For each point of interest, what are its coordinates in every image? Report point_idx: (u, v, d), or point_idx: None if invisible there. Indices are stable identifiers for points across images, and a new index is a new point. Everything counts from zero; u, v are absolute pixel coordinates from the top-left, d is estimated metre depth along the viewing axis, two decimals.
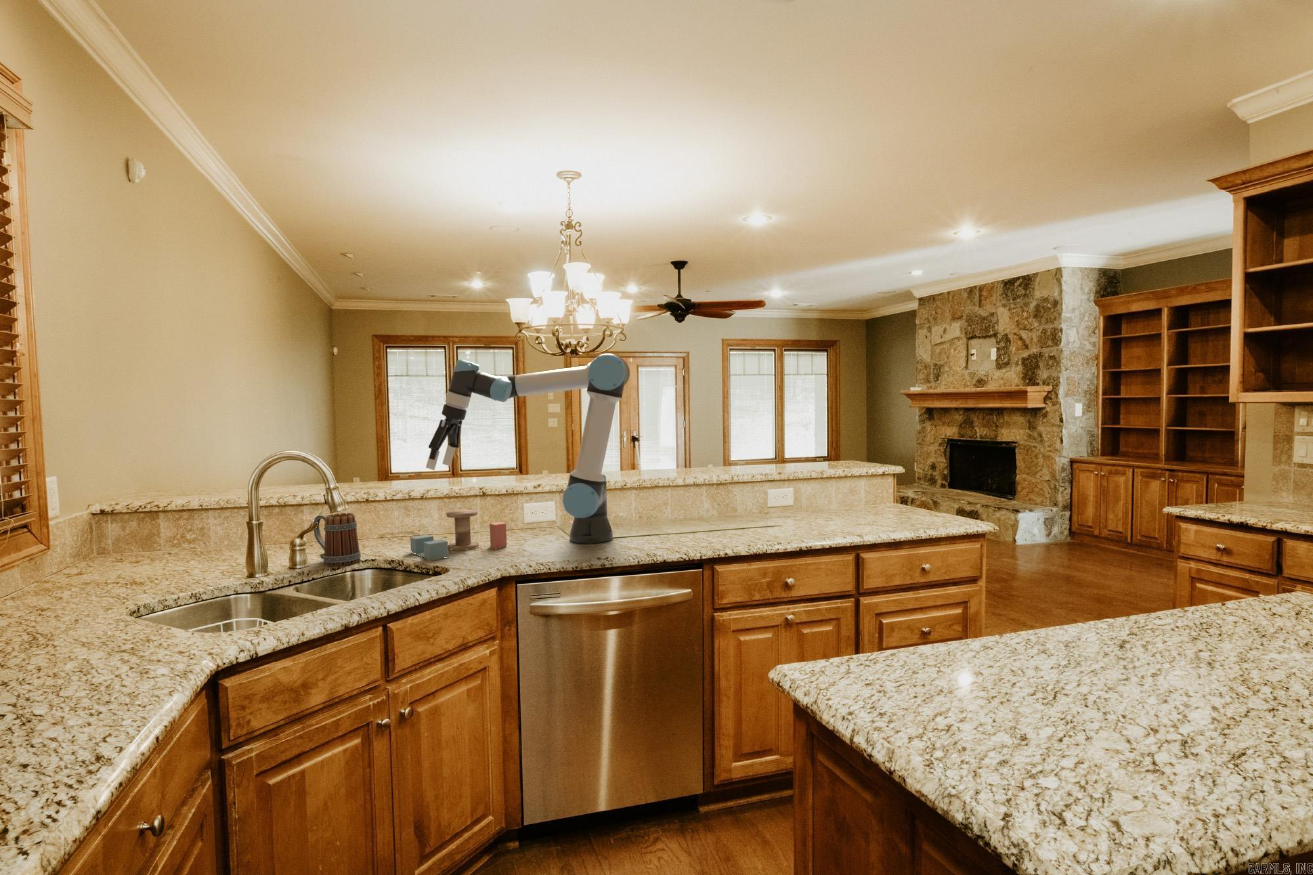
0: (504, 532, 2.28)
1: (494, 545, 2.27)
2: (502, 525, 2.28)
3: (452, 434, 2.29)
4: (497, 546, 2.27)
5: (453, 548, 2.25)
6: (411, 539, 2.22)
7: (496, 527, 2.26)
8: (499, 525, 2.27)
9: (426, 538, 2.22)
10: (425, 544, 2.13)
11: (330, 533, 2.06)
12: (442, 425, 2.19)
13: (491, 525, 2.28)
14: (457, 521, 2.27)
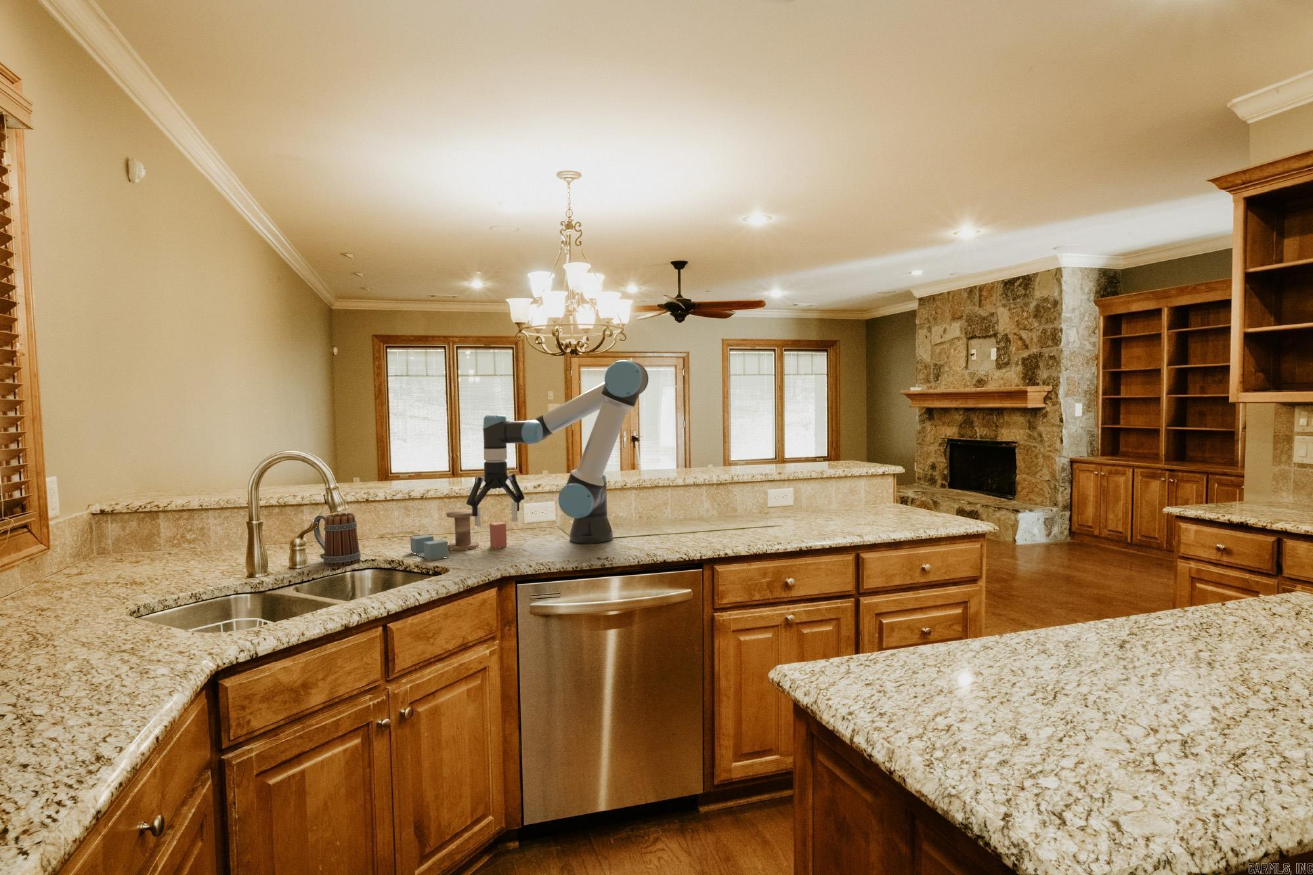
0: (504, 532, 2.28)
1: (494, 545, 2.27)
2: (502, 525, 2.28)
3: (505, 489, 2.30)
4: (497, 546, 2.27)
5: (453, 548, 2.25)
6: (411, 539, 2.22)
7: (496, 527, 2.26)
8: (499, 525, 2.27)
9: (426, 538, 2.22)
10: (425, 544, 2.13)
11: (330, 533, 2.06)
12: (476, 481, 2.24)
13: (491, 525, 2.28)
14: (457, 521, 2.27)
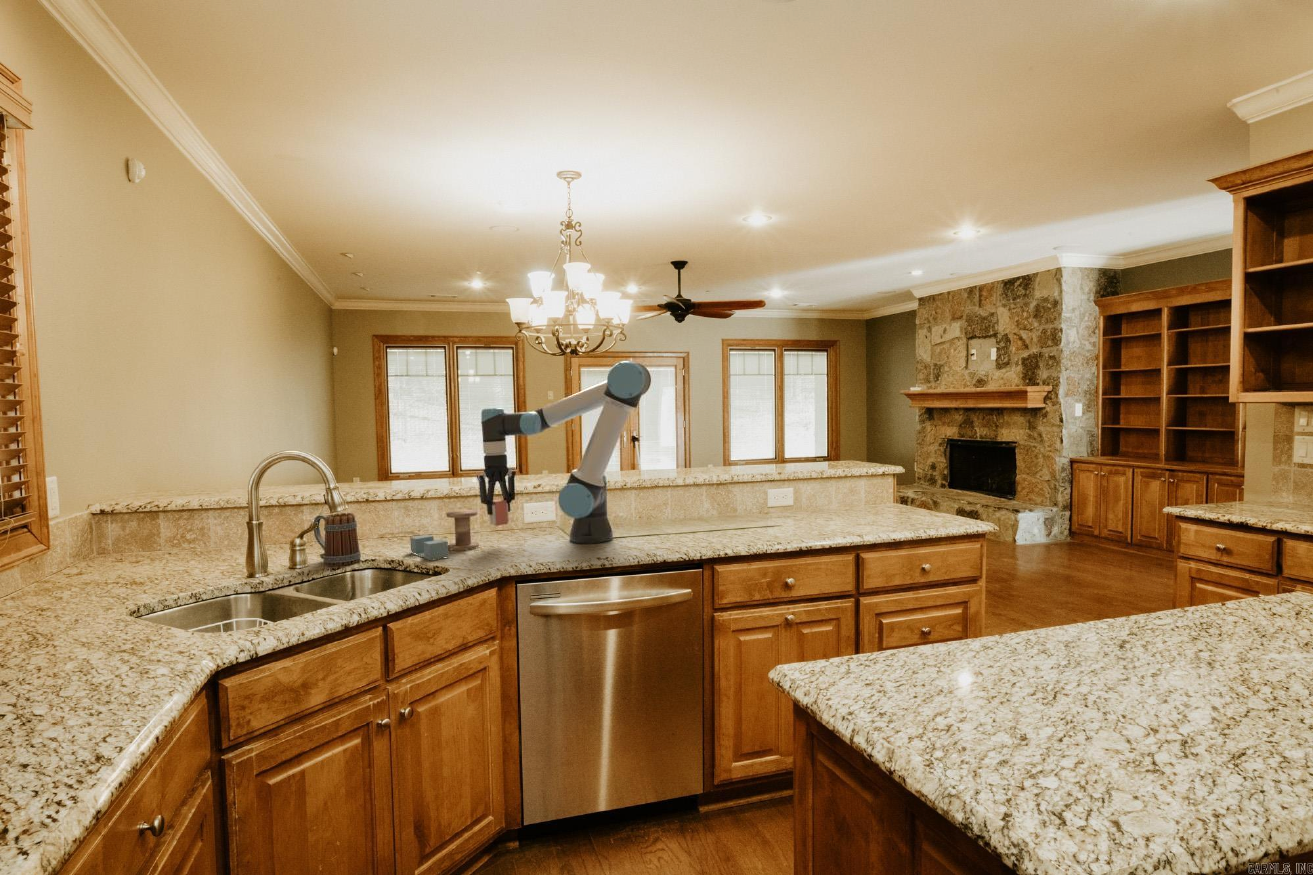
0: (505, 509, 2.28)
1: None
2: (502, 502, 2.27)
3: (501, 485, 2.29)
4: (498, 523, 2.26)
5: (453, 548, 2.25)
6: (411, 539, 2.22)
7: (496, 504, 2.26)
8: (499, 502, 2.27)
9: (426, 538, 2.22)
10: (425, 544, 2.13)
11: (330, 533, 2.06)
12: (480, 480, 2.24)
13: None
14: (457, 521, 2.27)
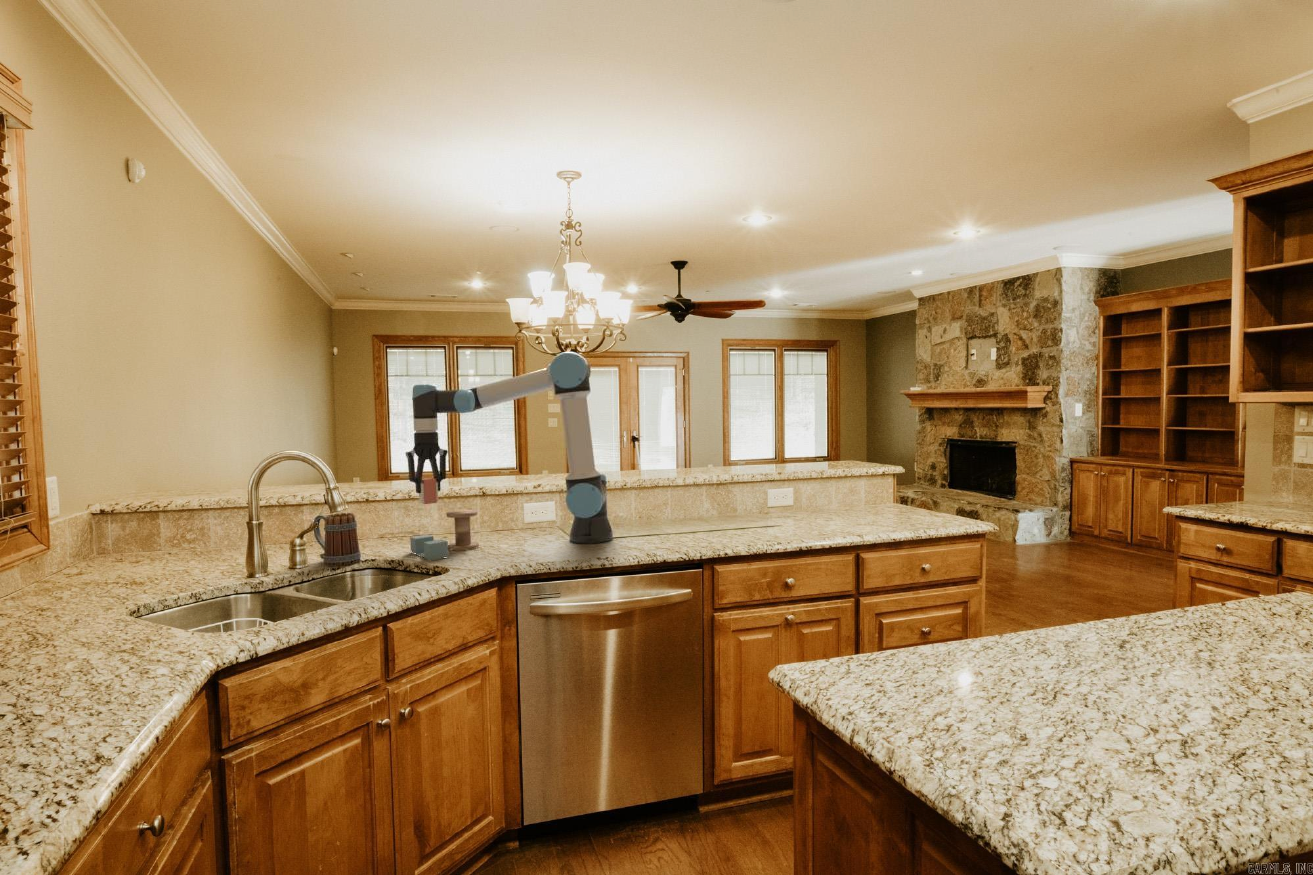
0: (434, 488, 2.23)
1: None
2: (432, 480, 2.23)
3: (432, 463, 2.24)
4: (426, 502, 2.22)
5: (453, 548, 2.25)
6: (411, 539, 2.22)
7: (425, 482, 2.21)
8: (428, 480, 2.22)
9: (426, 538, 2.22)
10: (425, 544, 2.13)
11: (330, 533, 2.06)
12: (408, 457, 2.20)
13: (421, 480, 2.23)
14: (457, 521, 2.27)
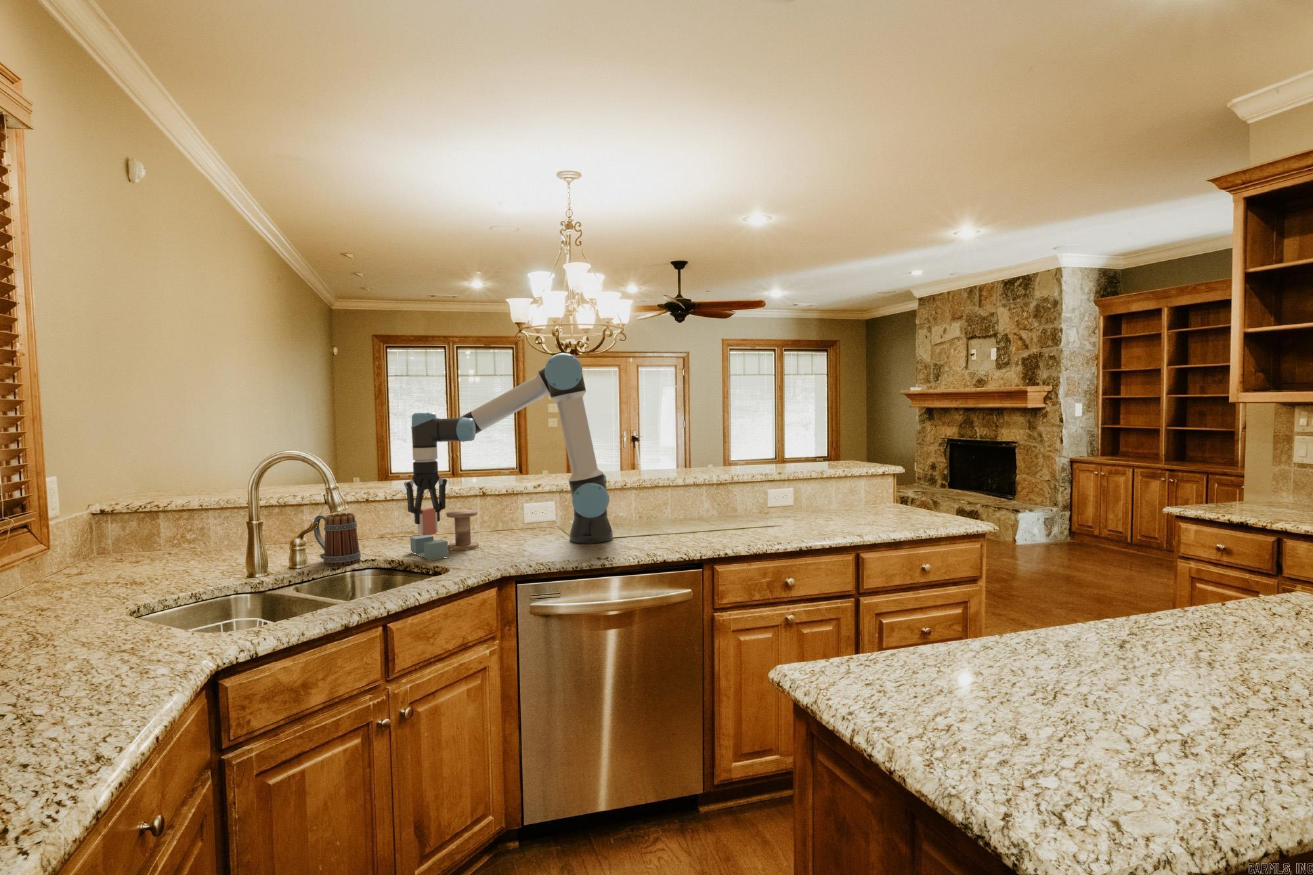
0: (433, 518, 2.18)
1: None
2: (431, 511, 2.17)
3: (431, 493, 2.19)
4: (425, 533, 2.16)
5: (453, 548, 2.25)
6: (411, 539, 2.22)
7: (424, 513, 2.16)
8: (428, 511, 2.16)
9: (426, 538, 2.22)
10: (425, 544, 2.13)
11: (330, 533, 2.06)
12: (407, 487, 2.14)
13: (420, 511, 2.17)
14: (457, 521, 2.27)
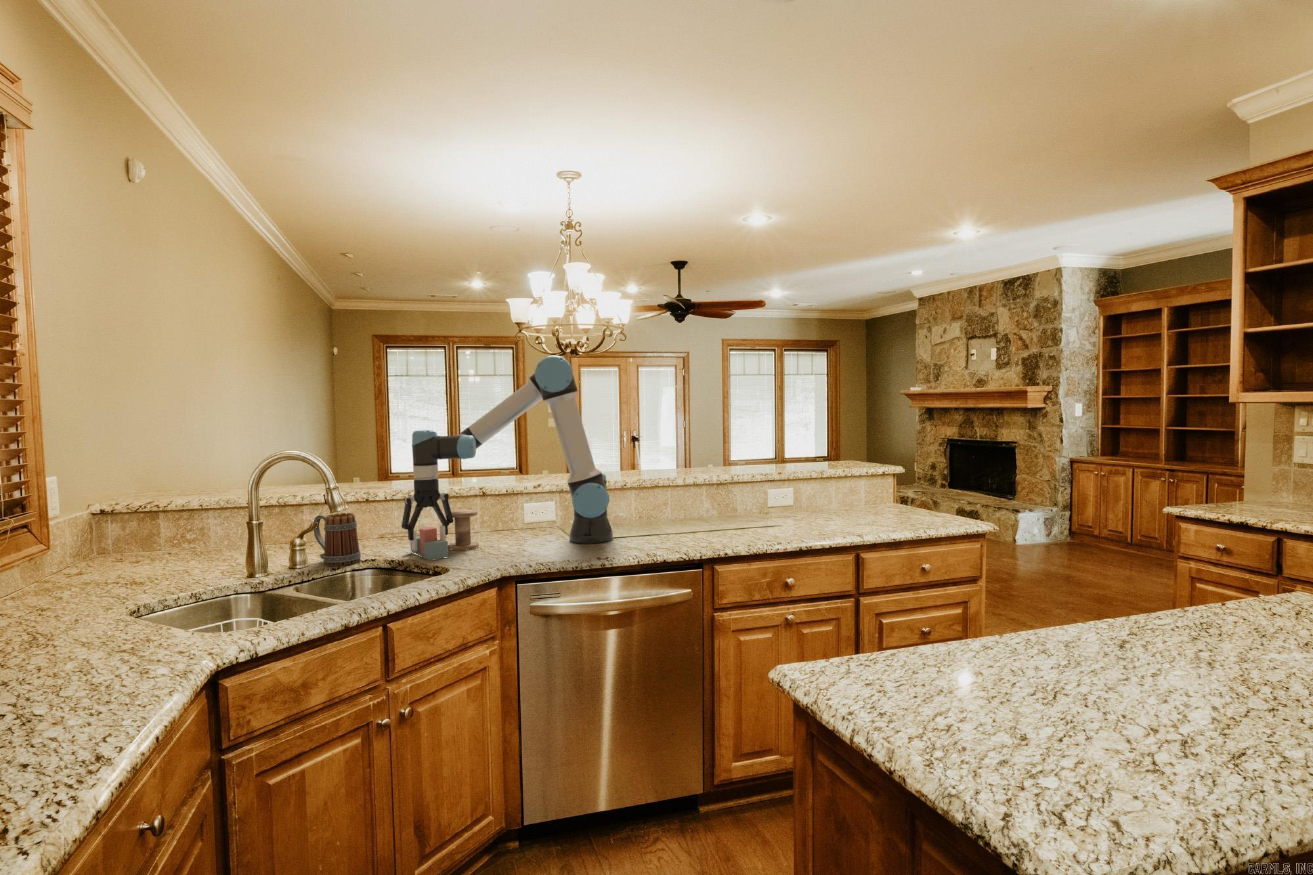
0: (435, 538, 2.18)
1: None
2: (432, 530, 2.18)
3: (435, 509, 2.20)
4: None
5: (453, 548, 2.25)
6: None
7: (426, 533, 2.16)
8: (429, 530, 2.17)
9: None
10: (425, 544, 2.13)
11: (330, 533, 2.06)
12: (406, 503, 2.14)
13: (421, 530, 2.18)
14: (457, 521, 2.27)
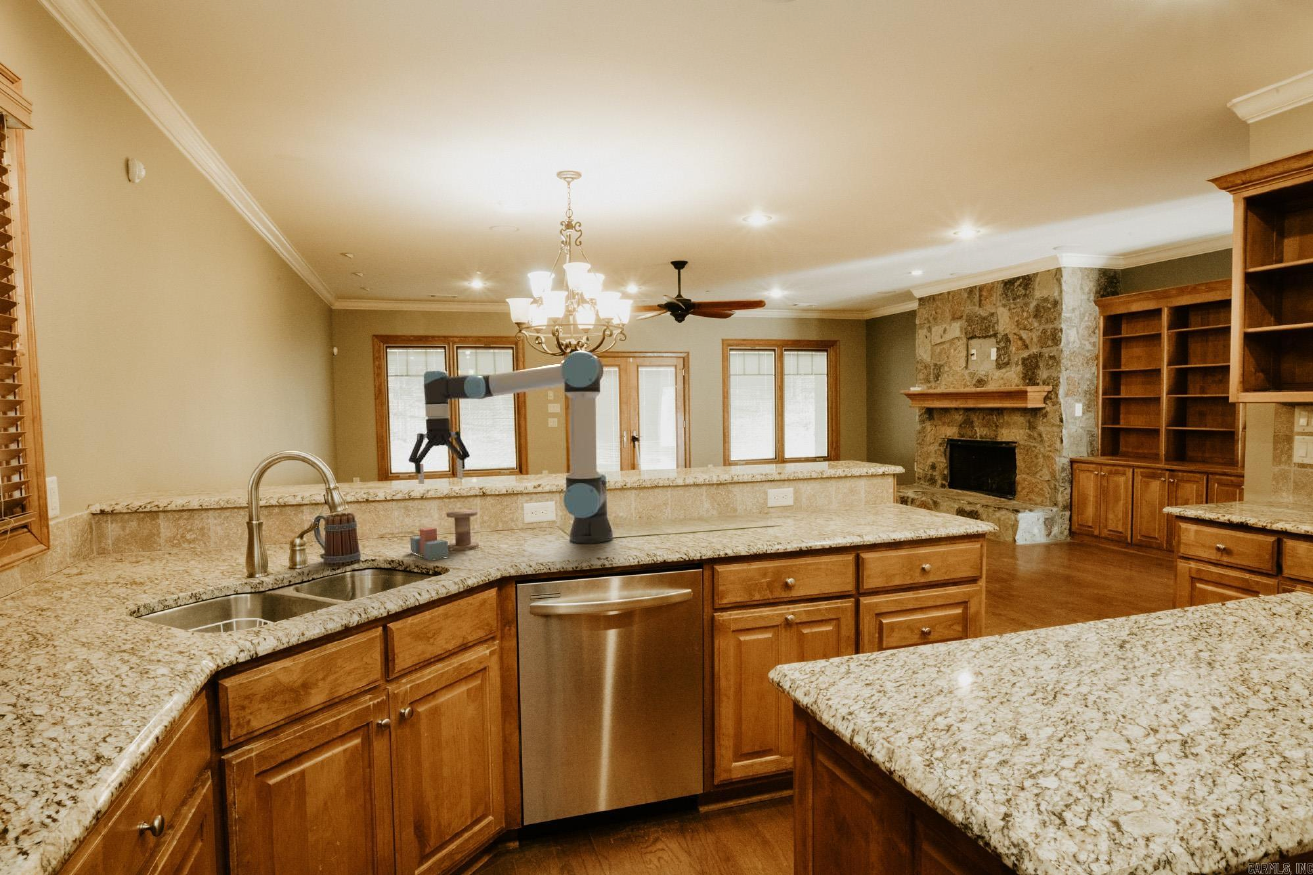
0: (435, 538, 2.18)
1: None
2: (432, 530, 2.18)
3: (449, 446, 2.27)
4: None
5: (453, 548, 2.25)
6: (411, 539, 2.22)
7: (426, 533, 2.16)
8: (429, 530, 2.17)
9: None
10: (425, 544, 2.13)
11: (330, 533, 2.06)
12: (418, 438, 2.20)
13: (421, 530, 2.18)
14: (457, 521, 2.27)
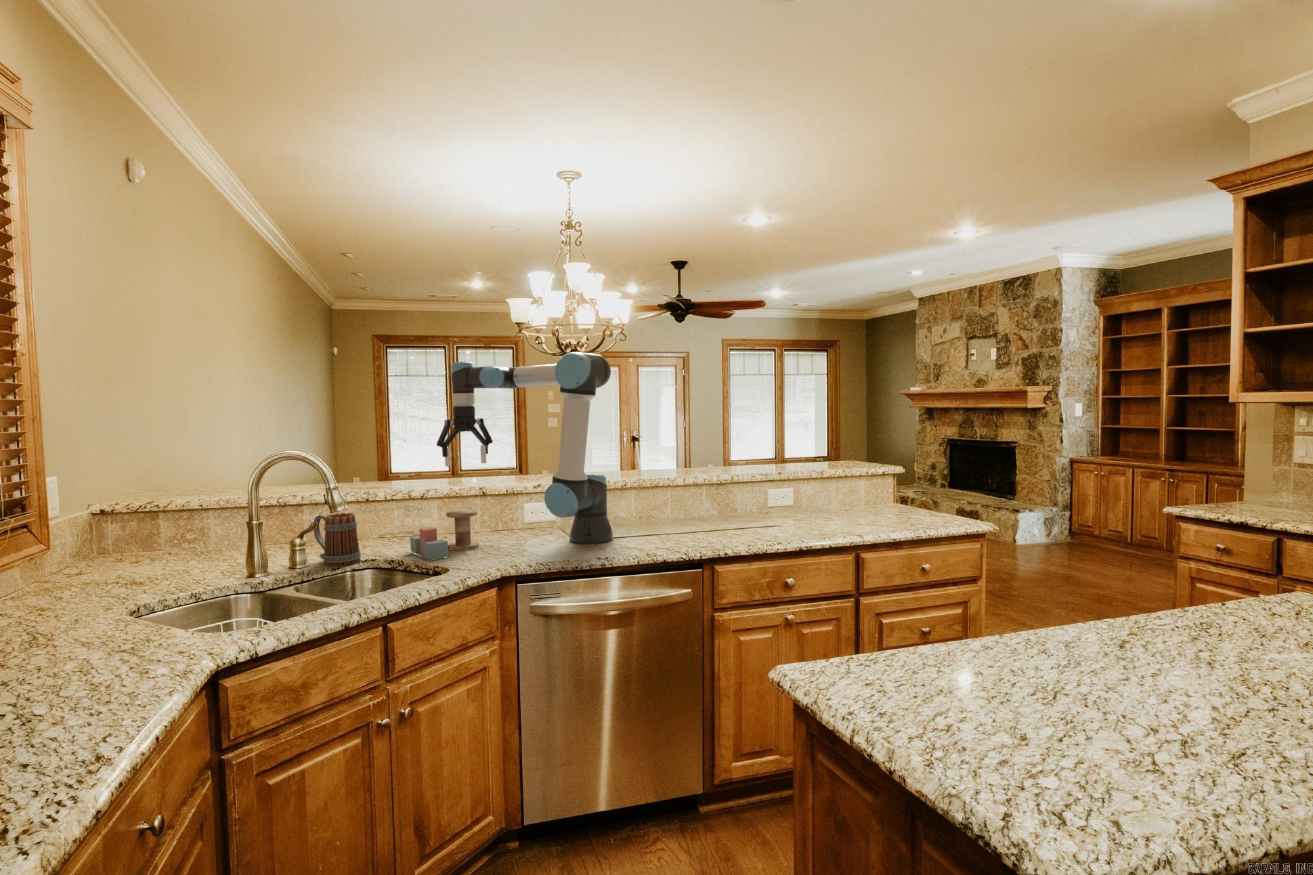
0: (435, 538, 2.18)
1: None
2: (432, 530, 2.18)
3: (474, 432, 2.45)
4: None
5: (453, 548, 2.25)
6: (411, 539, 2.22)
7: (426, 533, 2.16)
8: (429, 530, 2.17)
9: None
10: (425, 544, 2.13)
11: (330, 533, 2.06)
12: (446, 424, 2.38)
13: (421, 530, 2.18)
14: (457, 521, 2.27)
